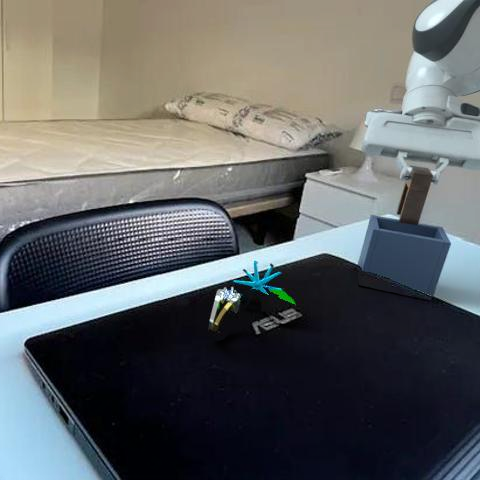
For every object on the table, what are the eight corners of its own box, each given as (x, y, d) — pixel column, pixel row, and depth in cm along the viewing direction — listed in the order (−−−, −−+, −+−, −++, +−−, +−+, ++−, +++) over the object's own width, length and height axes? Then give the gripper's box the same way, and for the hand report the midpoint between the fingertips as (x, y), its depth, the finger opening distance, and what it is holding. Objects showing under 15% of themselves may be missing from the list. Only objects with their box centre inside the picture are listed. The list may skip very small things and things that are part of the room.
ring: (217, 355, 66) (225, 303, 63) (197, 345, 68) (204, 294, 65) (243, 334, 71) (252, 285, 68) (224, 325, 73) (232, 277, 70)
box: (424, 282, 92) (442, 227, 88) (431, 301, 85) (451, 243, 81) (356, 268, 96) (370, 214, 91) (357, 286, 89) (373, 229, 84)
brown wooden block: (413, 215, 91) (428, 168, 88) (417, 225, 86) (433, 175, 83) (396, 212, 92) (409, 165, 88) (399, 222, 87) (413, 172, 84)
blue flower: (222, 284, 80) (256, 249, 79) (239, 294, 86) (271, 261, 84) (271, 338, 73) (309, 300, 72) (286, 345, 78) (322, 310, 77)
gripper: (370, 96, 90) (359, 160, 86) (497, 111, 85) (492, 180, 80) (363, 118, 96) (352, 179, 91) (482, 133, 91) (476, 199, 86)
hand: (419, 180), depth 86 cm, fingers closed on brown wooden block, 3 cm apart
